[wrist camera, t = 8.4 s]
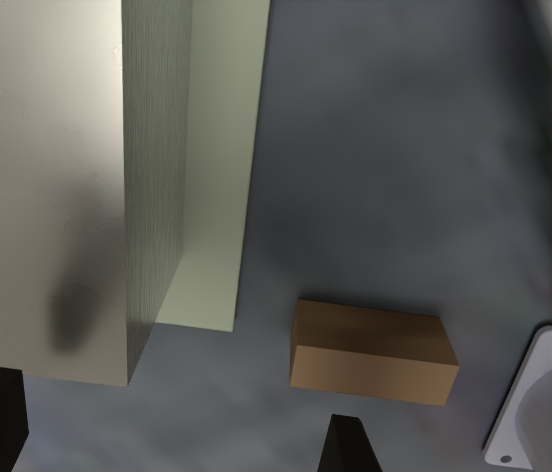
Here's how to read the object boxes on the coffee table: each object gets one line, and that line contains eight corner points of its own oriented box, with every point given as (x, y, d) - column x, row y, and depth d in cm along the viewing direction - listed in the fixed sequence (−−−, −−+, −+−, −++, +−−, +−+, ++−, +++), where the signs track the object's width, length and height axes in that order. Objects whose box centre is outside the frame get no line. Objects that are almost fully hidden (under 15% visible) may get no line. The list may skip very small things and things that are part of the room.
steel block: (194, -36, 15) (120, -46, 9) (182, 257, 20) (127, 387, 13) (41, -56, 15) (-141, -81, 9) (65, 242, 20) (-46, 366, 13)
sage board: (285, -132, 15) (285, -137, 14) (234, 320, 22) (232, 331, 21) (-30, -180, 14) (-47, -188, 14) (23, 292, 22) (14, 303, 21)
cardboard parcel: (582, -108, 15) (646, -128, 12) (426, 354, 22) (444, 406, 20) (375, -140, 14) (393, -167, 12) (290, 337, 22) (289, 386, 19)
